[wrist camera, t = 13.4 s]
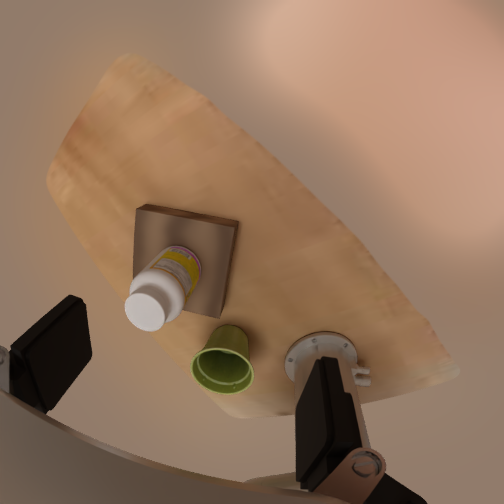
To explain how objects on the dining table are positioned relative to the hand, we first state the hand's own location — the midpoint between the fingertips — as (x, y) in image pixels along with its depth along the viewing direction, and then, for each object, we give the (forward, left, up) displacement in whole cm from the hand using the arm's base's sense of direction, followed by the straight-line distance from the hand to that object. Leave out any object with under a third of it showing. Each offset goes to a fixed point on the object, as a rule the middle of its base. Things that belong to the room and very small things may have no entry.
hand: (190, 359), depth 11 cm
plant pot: (0, +23, -32) cm, 40 cm away
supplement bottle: (+9, +10, -29) cm, 32 cm away
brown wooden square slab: (+9, +10, -32) cm, 35 cm away
